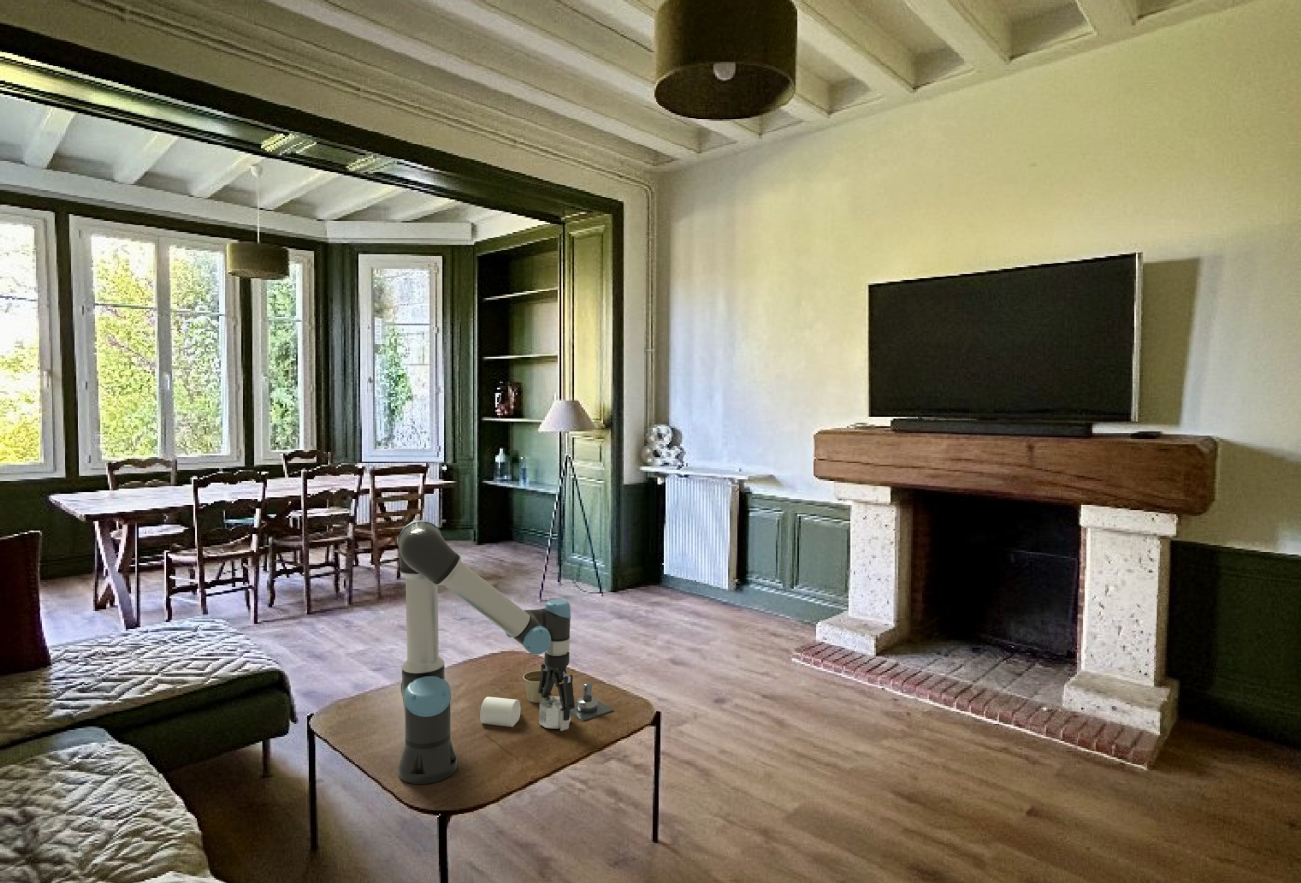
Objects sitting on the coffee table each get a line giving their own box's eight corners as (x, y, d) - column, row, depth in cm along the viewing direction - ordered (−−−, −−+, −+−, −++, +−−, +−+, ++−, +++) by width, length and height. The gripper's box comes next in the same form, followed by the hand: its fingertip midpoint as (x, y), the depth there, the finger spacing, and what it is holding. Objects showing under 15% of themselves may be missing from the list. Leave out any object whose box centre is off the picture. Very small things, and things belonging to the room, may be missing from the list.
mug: (510, 732, 217) (511, 706, 216) (479, 728, 219) (479, 703, 218) (525, 715, 229) (525, 690, 228) (496, 711, 231) (496, 687, 230)
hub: (582, 724, 223) (583, 695, 222) (560, 711, 232) (561, 682, 231) (613, 713, 230) (614, 685, 230) (591, 701, 240) (591, 673, 239)
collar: (550, 731, 214) (551, 711, 214) (534, 720, 221) (534, 701, 221) (575, 723, 220) (576, 703, 220) (559, 712, 227) (559, 694, 227)
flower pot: (543, 709, 233) (543, 683, 232) (517, 705, 236) (517, 679, 235) (556, 698, 242) (556, 672, 241) (531, 693, 245) (531, 668, 244)
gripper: (588, 659, 214) (586, 733, 215) (548, 639, 230) (546, 708, 232) (567, 665, 209) (565, 740, 210) (527, 644, 225) (526, 714, 227)
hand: (555, 723), depth 221 cm, fingers closed on collar, 9 cm apart
